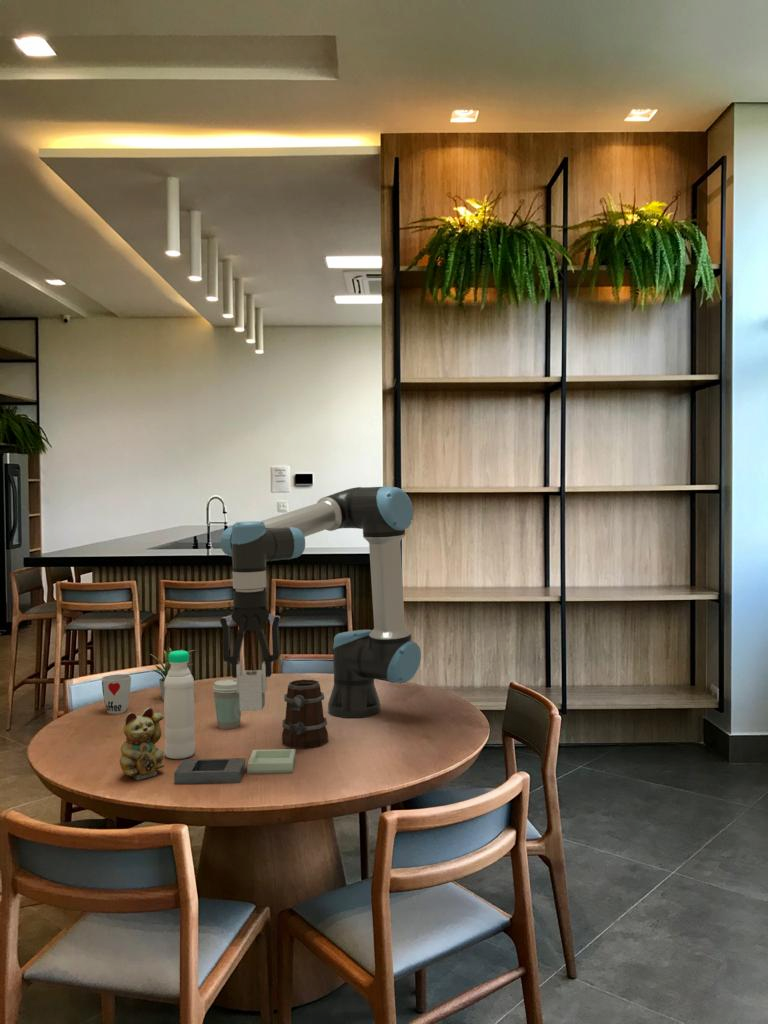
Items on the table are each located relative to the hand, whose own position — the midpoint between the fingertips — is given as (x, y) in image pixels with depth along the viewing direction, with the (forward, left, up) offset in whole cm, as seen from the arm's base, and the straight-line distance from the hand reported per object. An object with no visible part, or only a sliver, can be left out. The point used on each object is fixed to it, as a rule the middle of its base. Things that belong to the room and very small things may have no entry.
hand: (252, 691), depth 181 cm
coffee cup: (+11, -35, -18) cm, 40 cm away
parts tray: (-4, -2, -18) cm, 18 cm away
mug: (-10, -18, -18) cm, 27 cm away
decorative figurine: (+25, +2, -18) cm, 31 cm away
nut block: (0, 0, -4) cm, 4 cm away
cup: (+46, -52, -18) cm, 71 cm away
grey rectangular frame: (+9, +4, -18) cm, 20 cm away
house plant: (+32, -65, -18) cm, 74 cm away
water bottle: (+19, -11, -18) cm, 28 cm away
